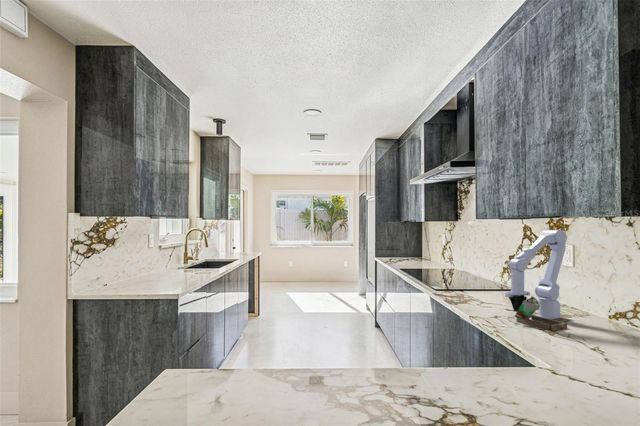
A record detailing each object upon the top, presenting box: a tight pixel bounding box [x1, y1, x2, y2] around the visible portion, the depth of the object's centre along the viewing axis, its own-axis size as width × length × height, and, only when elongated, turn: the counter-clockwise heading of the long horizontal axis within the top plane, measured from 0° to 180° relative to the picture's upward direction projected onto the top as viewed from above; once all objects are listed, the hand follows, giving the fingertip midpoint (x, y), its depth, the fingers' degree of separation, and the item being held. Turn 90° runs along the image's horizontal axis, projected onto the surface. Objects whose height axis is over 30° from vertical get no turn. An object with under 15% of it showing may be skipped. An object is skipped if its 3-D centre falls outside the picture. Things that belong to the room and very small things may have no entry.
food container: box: [514, 295, 540, 320], centre depth 183 cm, size 12×6×10 cm, turn 135°
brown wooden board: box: [516, 314, 568, 331], centre depth 176 cm, size 11×17×2 cm, turn 23°
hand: (517, 310), depth 187 cm, fingers closed
